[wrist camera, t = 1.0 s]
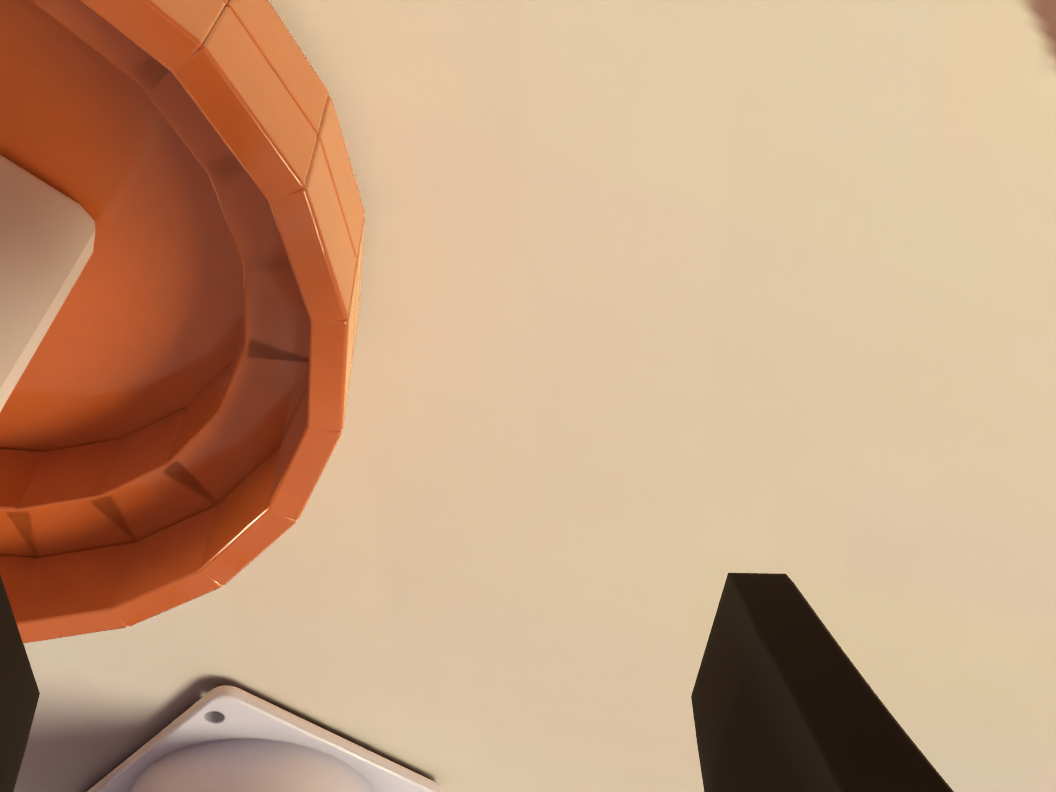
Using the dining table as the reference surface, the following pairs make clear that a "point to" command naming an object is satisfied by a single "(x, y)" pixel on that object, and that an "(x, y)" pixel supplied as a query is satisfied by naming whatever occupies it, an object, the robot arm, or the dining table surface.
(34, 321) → the salt shaker
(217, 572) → the bowl
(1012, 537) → the dining table surface
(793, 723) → the robot arm
